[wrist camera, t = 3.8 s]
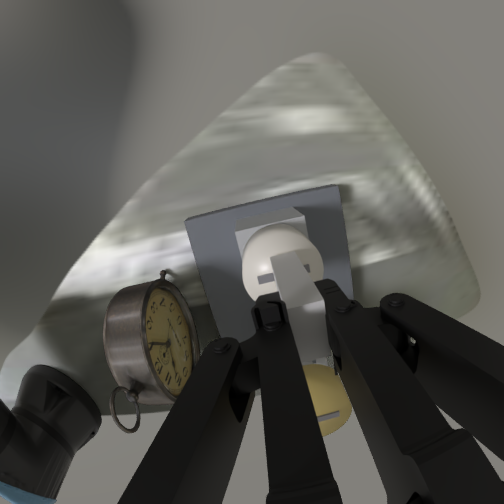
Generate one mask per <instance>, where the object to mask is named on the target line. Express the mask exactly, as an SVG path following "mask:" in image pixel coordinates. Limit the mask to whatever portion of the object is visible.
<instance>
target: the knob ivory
mask: <svg viewBox="0 0 504 504" xmlns="http://www.w3.org/2000/svg"><path fill="white" fill-rule="evenodd" d="M293 251H295V253H296V254H297V256H298V257H299V259H300V261H301V262H302V264H303V266H304V267H305V269H306V271H307V272H308V274H309V276H310V277H311V279H312V281H313V282H315V281H319V280H322V279H323V273H324V267H323V261H322V258H321V255H320V253H319V251H318V250H317V248H316V247H315V246H314V245H313V244H312V243H311V242H310V240H309V239H308V238H307V237H306V236H305V235H304V234H303V233H302V232H301V231H299V230H298V229H296V228H294V227H292V226H289V225H285V224H272V225H268V226H265V227H263V228H261V229H259V230H258V231H256V232H255V233H254V234H253V235H252V236H251V237H250V238H249V240H248V241H247V243H246V245H245V247H244V250H243V256H242V277H243V283H244V286H245V289H246V291H247V293H248V294H249V295H250V297H251V298H252V299H253V300H254V301H256V299H257V298H258V296H260V295H264V294H269V293H273V292H277V288H276V283H275V279H274V274H273V270H272V265H271V261H270V257H272V256H276V255H280V254H284V253H289V252H293Z"/></svg>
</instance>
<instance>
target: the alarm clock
mask: <svg viewBox="0 0 504 504" xmlns="http://www.w3.org/2000/svg"><path fill="white" fill-rule="evenodd" d="M160 275H161V278H160V279H157V280H155V281H151V282H146V283H142V284H138V285H133V286H129V287H126V288H123V289H122V290H120V291H119V292H118V293H117V294H116V295H115V296H114V297H113V298H112V300H111V301H110V303H109V306H108V308H107V311H106V314H105V319H104V325H103V344H104V350H105V356H106V360H107V363H108V366H109V368H110V371H111V373H112V375H113V377H114V379H115V381H116V382H117V384H118V385H119V386H120V387H117V388H115V389H114V390H113V392H112V394H111V396H110V411H111V415H112V417H113V419H114V421H115V423H116V424H117V426H118V427H119V428H120V429H121V430H122V431H124V432H126V433H134V432H136V431H137V430H138V428H139V426H140V412H139V406H138V403H141V404H145V405H168V404H174V403H175V401H176V400H177V398H178V396H179V394H180V392H181V391H182V389H183V387H184V385H185V384H186V382H187V380H188V378H189V376H190V375H191V373H192V371H193V369H194V368H195V366H196V364H197V362H198V360H199V359H200V347H199V342H198V336H197V332H196V327H195V324H194V320H193V317H192V315H191V312H190V310H189V307H188V305H187V303H186V301H185V299H184V297H183V296H182V294H181V293H180V291H179V290H178V289H177V288H176V287H175V286H174V285H173V284H172V283H171V282H169V281H168V280H165V275H166V271H164V270H162V271H161V272H160ZM120 390H123V391H124V392H125V393H126V398H127V399H128V400H129V401H130V402H133V403H134V405H135V408H136V414H137V421H136V424H135V426H134V428H132V429H127V428H125V427H124V426H123V425H122V424H121V423H120V422H119V420H118V418H117V416H116V413H115V407H114V398H115V395H116V393H117V392H118V391H120ZM137 402H138V403H137Z"/></svg>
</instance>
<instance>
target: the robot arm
mask: <svg viewBox="0 0 504 504" xmlns="http://www.w3.org/2000/svg"><path fill="white" fill-rule="evenodd" d="M270 261H271V265H272V270H273V274H274V279H275V283H276V288H277V292H273V293H269V294H264V295H260V296H258V298H257V299H256V301H255V303H256V305H255V306H254V307H252V309H251V315H252V318H253V322H254V326H255V329H256V333H255V334H254V335H253V336H252V337H251V338H249V339H247V340H245V341H243V342H240V343H239V342H238V340H237V339H235V338H232V337H224V338H219V339H216V340H214V341H212V342H211V343H209V344H208V345H207V347H206V348H205V350H204V351H203V353H202V355H201V357H200V359H199V360H198V362H197V364H196V366H195V368H194V369H193V371H192V373H191V375H190V376H189V378H188V380H187V382H186V384H185V385H184V387H183V389H182V391H181V392H180V394H179V396H178V398H177V400H176V401H175V403H174V405H173V407H172V408H171V410H170V412H169V414H168V416H167V417H166V419H165V421H164V423H163V424H162V426H161V428H160V430H159V431H158V433H157V435H156V437H155V439H154V441H153V442H152V444H151V446H150V447H149V449H148V451H147V453H146V454H145V456H144V458H143V460H142V462H141V463H140V465H139V467H138V468H137V470H136V472H135V474H134V476H133V477H132V479H131V481H130V483H129V484H128V486H127V488H126V490H125V491H124V493H123V495H122V496H121V498H120V500H119V502H118V503H117V504H222V501H223V498H224V495H225V492H226V489H227V486H228V483H229V480H230V477H231V474H232V470H233V467H234V465H235V461H236V458H237V455H238V452H239V448H240V445H241V442H242V438H243V435H244V432H245V429H246V425H247V422H248V418H249V415H250V411H251V408H252V404H253V401H254V397H255V390H257V389H259V388H261V399H262V411H263V422H264V434H265V445H266V457H267V468H268V479H269V493H268V495H267V497H266V504H343V503H342V499H341V495H340V492H339V488H338V485H337V483H336V481H335V480H334V477H333V474H332V470H331V466H330V463H329V459H328V455H327V452H326V448H325V444H324V441H323V437H322V433H321V430H320V426H319V423H318V419H317V416H316V412H315V408H314V405H313V401H312V398H311V394H310V391H309V387H308V384H307V380H306V377H305V373H304V370H303V366H302V363H304V362H308V361H312V360H316V359H320V358H323V357H327V356H331V351H330V348H331V350H332V352H333V359H334V369H335V376H336V375H338V373H339V376H340V378H341V380H342V383H343V385H344V387H345V390H346V392H347V395H348V397H349V399H350V402H351V404H352V407H353V409H354V411H355V414H356V416H357V419H358V421H359V424H360V426H361V429H362V431H363V434H364V436H365V439H366V441H367V443H368V446H369V449H370V451H371V454H372V456H373V459H374V462H375V464H376V467H377V469H378V472H379V475H380V477H381V480H382V483H383V485H384V488H385V490H386V494H387V504H504V481H501V479H500V478H499V476H498V475H497V473H496V471H495V470H494V468H493V466H492V465H491V463H490V462H489V460H488V458H487V457H486V455H485V454H484V452H483V451H482V449H481V448H480V446H479V445H478V443H477V442H476V440H475V439H474V438H473V436H474V437H475V438H476V439H477V440H479V441H480V442H481V443H482V444H483V445H485V446H486V447H487V448H488V449H489V450H490V451H492V452H493V453H494V454H495V455H496V456H498V457H499V458H500V459H501V460H503V461H504V346H503V345H501V344H499V343H497V342H495V341H494V340H492V339H490V338H488V337H487V336H485V335H483V334H481V333H479V332H477V331H475V330H474V329H471V328H470V327H468V326H466V325H464V324H462V323H461V322H459V321H457V320H455V319H453V318H451V317H449V316H447V315H445V314H443V313H442V312H440V311H438V310H436V309H434V308H432V307H430V306H428V305H426V304H424V303H422V302H420V301H418V300H416V299H414V298H412V297H410V296H408V295H406V294H401V293H392V294H389V295H387V296H385V297H383V298H382V299H381V301H380V307H374V308H363V307H362V306H361V304H360V303H359V302H357V301H355V300H352V299H348V298H347V296H346V295H345V294H344V292H343V291H342V290H341V288H340V287H339V286H338V285H337V283H336V282H335V281H333V280H331V279H328V278H327V279H323V280H319V281H315V282H313V281H312V279H311V277H310V276H309V274H308V272H307V271H306V269H305V267H304V266H303V264H302V262H301V261H300V259H299V257H298V256H297V254H296V253H295V251H293V252H289V253H284V254H280V255H276V256H272V257H270ZM411 337H412V338H413V339H414V340H416V343H415V344H414V343H412V342H411V341H410V338H411ZM337 371H338V372H337ZM435 404H436V405H437V406H438V407H439V408H440V409H442V410H443V411H444V412H445V413H446V414H448V415H449V416H450V417H451V418H452V419H453V420H455V421H456V422H457V423H458V424H460V425H461V426H462V427H463V428H464V429H463V428H461V429H457V430H454V429H452V428H451V427H450V425H449V424H448V422H447V421H446V419H445V418H444V417H443V415H442V414H441V412H440V411H439V409H438V408H437V406H436V405H435ZM101 422H102V419H101V414H100V412H99V409H98V408H97V406H96V404H95V403H94V402H93V400H92V399H91V398H90V397H89V395H88V394H87V393H86V392H85V391H84V390H83V389H82V388H81V387H80V386H79V385H77V384H76V383H75V382H74V381H72V380H71V379H70V378H68V377H67V376H65V375H64V374H62V373H61V372H59V371H57V370H55V369H53V368H50V367H47V366H43V365H35V366H33V367H31V368H30V369H29V370H28V371H27V373H26V374H25V375H24V377H23V379H22V383H21V386H20V389H19V392H18V396H17V399H16V403H15V406H14V407H13V408H12V410H11V411H10V410H9V409H8V407H7V406H6V405H5V404H4V402H3V401H2V400H1V399H0V496H1V497H3V498H4V499H6V500H7V501H9V502H11V503H12V504H54V503H55V502H56V501H57V500H56V497H57V495H58V493H59V490H60V488H61V485H62V483H63V480H64V478H65V476H66V473H67V471H68V469H69V466H70V464H71V461H72V459H73V457H74V455H75V453H76V452H77V451H78V450H79V449H80V448H82V447H83V446H84V445H85V444H86V443H87V442H88V441H89V440H90V439H91V438H93V437H94V436H95V435H96V434H97V432H98V430H99V427H100V425H101ZM472 435H473V436H472Z"/></svg>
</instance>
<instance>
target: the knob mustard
mask: <svg viewBox="0 0 504 504" xmlns="http://www.w3.org/2000/svg"><path fill="white" fill-rule="evenodd" d="M302 366H303V370H304V373H305V377H306V380H307V384H308V387H309V391H310V394H311V398H312V401H313V405H314V408H315V412H316V416H317V419H318V423H319V426H320V430H321V433H322V437H323V436H326V435H329V434H331V433H333V432H334V431H336V430H338V429H339V428H340V427H341V426H343V425H344V424H345V423H346V421H347V420H348V419H349V417H350V415H351V412H352V406H351V403H350V400H349V398H348V396H347V393H346V391H345V389H344V386H343V384H342V382H341V380H340V377H339V375H336V376H335V370H334V369H332V368H331V367H328V366H326V365H321V364H313V362H312V361H308V362H304V363H302Z"/></svg>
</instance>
